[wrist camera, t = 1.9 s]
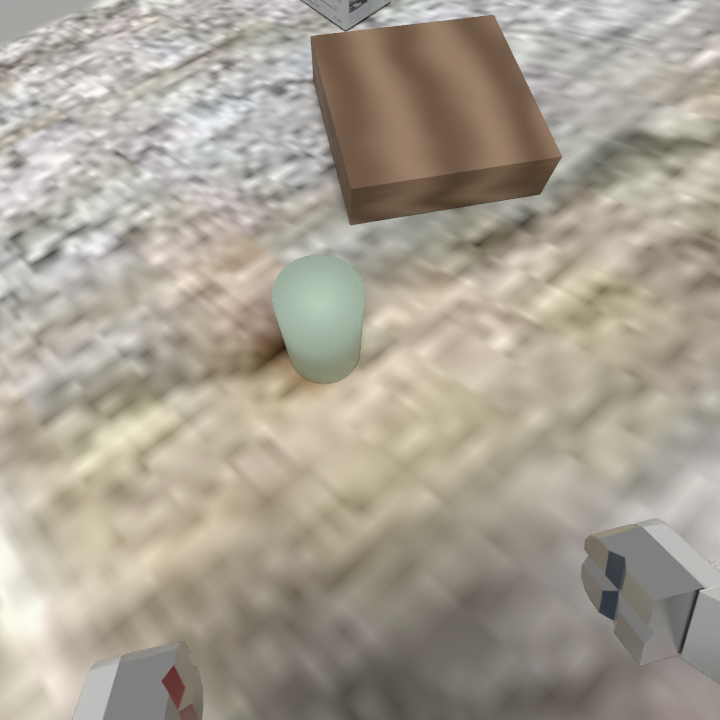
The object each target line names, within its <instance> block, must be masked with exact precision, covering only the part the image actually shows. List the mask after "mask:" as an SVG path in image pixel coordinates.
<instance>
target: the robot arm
mask: <svg viewBox="0 0 720 720" xmlns="http://www.w3.org/2000/svg"><path fill="white" fill-rule="evenodd" d="M584 550H585V551H586V552H587V553H588V555H589V556H588V558H587V559H586V560H585V562H584V563H583V564H582V572H581V578H582V581H583V585H584V588H585V591H586V593H587V595H588V597H589V598H590V600H591V602H592V603H593V605H594V606H595V607H596V609H597V610H598V612H599V613H601V614H603V615H605V616H606V617H608V618H610V619H612V620H614V631H615V634H616V636H617V637H618V638H619V640H620V641H621V642H622V644H623V645H624V646H625V648H626V649H627V650H628V652H629V653H630V654H631V656H632V657H633V658H634V660H635V661H636V662H637V664H638V665H639V666H642V665H646V664H649V663H653V662H657V661H661V660H664V659H668V658H672V657H676V656H679V655H681V657H680V658H681V659H682V660H684V661H685V662H687V663H688V664H690V665H692V666H693V667H695V668H696V669H698V670H699V671H701V672H702V673H704V674H705V675H707V676H708V677H710V678H711V679H713V680H714V681H716V682H717V683H719V684H720V571H719V570H718V569H716V568H715V567H714V566H713V565H712V564H711V563H710V562H709V561H707V560H706V559H705V558H704V557H703V556H702V555H701V554H700V553H698V552H697V551H696V550H695V549H694V548H693V547H692V546H691V545H689V544H688V543H687V542H686V541H685V540H684V539H683V538H682V537H680V536H679V535H678V534H677V533H676V532H675V531H674V530H673V529H671V528H670V527H669V526H668V525H667V524H666V523H665V522H663V521H661V520H659V519H657V518H656V519H651V520H647V521H643V522H640V523H636V524H633V525H631V524H629V525H626V526H622V527H618V528H615V529H611V530H607V531H604V532H600V533H596V534H593V535H589V536H588V538H587V539H586V540H585V546H584ZM189 657H190V650H189V648H188V646H187V644H186V642H185V640H184V641H180V642H176V643H171V644H167V645H163V646H158V647H154V648H150V649H145V650H141V651H137V652H132V653H128V654H123V655H119V656H115V657H111V658H107V659H103V660H99V661H96V662H95V664H94V665H93V667H92V668H91V670H90V671H89V673H88V675H87V678H86V681H85V684H84V687H83V689H82V692H81V695H80V698H79V701H78V704H77V707H76V710H75V713H74V716H73V718H72V720H202V713H203V687H202V682H201V677H200V673H199V671H198V669H197V667H196V666H194V665H192V664H190V663H189Z"/></svg>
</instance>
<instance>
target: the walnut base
mask: <svg viewBox="0 0 720 720" xmlns="http://www.w3.org/2000/svg"><path fill="white" fill-rule="evenodd" d="M311 50H312V65H313V80H314V85H315V89H316V93H317V96H318V100H319V104H320V108H321V112H322V116H323V120H324V124H325V128H326V132H327V135H328V139H329V143H330V147H331V151H332V155H333V159H334V163H335V167H336V170H337V174H338V178H339V182H340V186H341V190H342V194H343V198H344V202H345V206H346V209H347V213H348V217H349V221H350V225H353V224H359V223H365V222H371V221H377V220H384V219H390V218H396V217H402V216H408V215H414V214H420V213H427V212H433V211H439V210H445V209H451V208H457V207H464V206H470V205H476V204H482V203H488V202H494V201H500V200H507V199H513V198H519V197H525V196H531V195H537V194H540V193H541V192H542V190H543V188H544V187H545V185H546V183H547V181H548V180H549V178H550V176H551V175H552V173H553V171H554V169H555V168H556V166H557V164H558V162H559V161H560V159H561V157H562V156H561V154H560V151H559V149H558V147H557V145H556V143H555V141H554V139H553V137H552V135H551V133H550V131H549V129H548V127H547V124H546V122H545V120H544V118H543V116H542V114H541V112H540V110H539V108H538V106H537V104H536V102H535V100H534V97H533V95H532V93H531V91H530V89H529V87H528V85H527V83H526V81H525V79H524V77H523V75H522V73H521V70H520V68H519V66H518V64H517V62H516V60H515V58H514V56H513V54H512V52H511V50H510V48H509V45H508V43H507V41H506V39H505V37H504V35H503V33H502V31H501V29H500V27H499V25H498V23H497V21H496V18H495V16H494V15H489V16H480V17H471V18H463V19H454V20H445V21H437V22H428V23H420V24H411V25H402V26H394V27H385V28H376V29H368V30H359V31H351V32H342V33H333V34H325V35H316V36H311Z"/></svg>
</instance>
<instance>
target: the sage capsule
mask: <svg viewBox="0 0 720 720" xmlns="http://www.w3.org/2000/svg"><path fill="white" fill-rule="evenodd" d="M364 302H365V290H364V285H363V282H362V280H361V278H360V276H359V275H358V273H357V272H356V271H355V270H354V268H353V267H351V266H350V265H349V264H348V263H346V262H344V261H343V260H341V259H338V258H336V257H332V256H328V255H310V256H306V257H303V258H300V259H297V260H295V261H293V262H292V263H290V264H289V265H288V266H286V267H285V268H284V269H283V270H282V271H281V273H280V274H279V275H278V277H277V279H276V281H275V283H274V286H273V290H272V303H273V307H274V310H275V313H276V317H277V320H278V323H279V326H280V329H281V333H282V336H283V339H284V342H285V345H286V349H287V352H288V355H289V358H290V361H291V364H292V366H293V367H294V369H295V370H296V372H297V373H298V374H299V375H300V376H302V377H303V378H305V379H307V380H308V381H311V382H314V383H319V384H329V383H334V382H337V381H340V380H342V379H343V378H345V377H346V376H348V375H349V374H350V373H351V372H352V371H353V369H354V368H355V367H356V365H357V363H358V360H359V356H360V347H361V336H362V324H363V313H364Z"/></svg>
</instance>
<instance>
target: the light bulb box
mask: <svg viewBox="0 0 720 720" xmlns="http://www.w3.org/2000/svg"><path fill="white" fill-rule="evenodd" d="M302 1H304V2H305V3H307V4H308V5H309V6H311V7H312V8H314V9H315V10H317V11H318V12H319V13H321V14H322V15H324V16H325V17H327V18H328V19H329V20H331V21H332V22H334V23H335V24H337V25H338V26H340V27H341V28H342V29H344V30H348V29H349V28H350V27H352V26H353V25H355V24H357V23H358V22H360V21H361V20H363V19H364V18H366V17H368V16H369V15H371V14H372V13H374V12H375V11H377V10H378V9H380V8H381V7H383V6H385V5H386V4H388V3H389V2H390V1H391V0H302Z"/></svg>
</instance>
